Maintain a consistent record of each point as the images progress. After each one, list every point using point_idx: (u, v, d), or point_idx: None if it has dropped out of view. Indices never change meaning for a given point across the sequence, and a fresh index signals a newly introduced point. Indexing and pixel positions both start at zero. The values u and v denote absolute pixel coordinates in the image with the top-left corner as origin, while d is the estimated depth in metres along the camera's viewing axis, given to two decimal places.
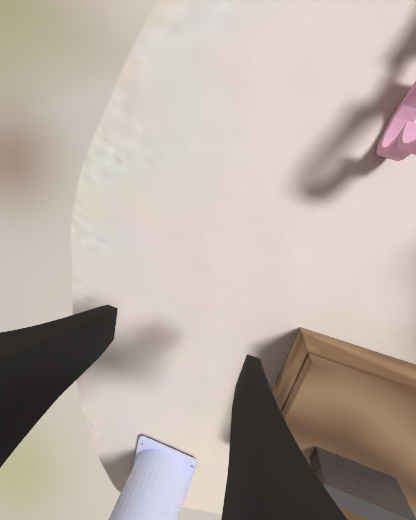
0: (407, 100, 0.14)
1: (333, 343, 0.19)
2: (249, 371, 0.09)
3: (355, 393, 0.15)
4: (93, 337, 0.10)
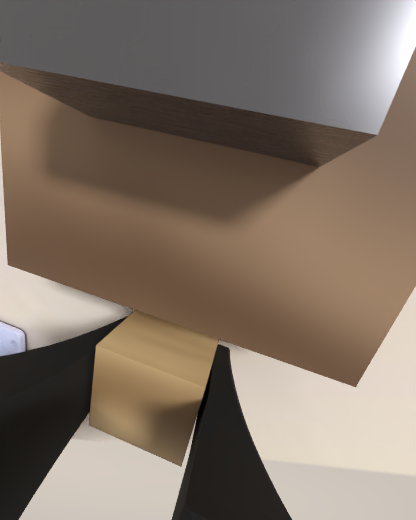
0: None
1: None
2: (214, 358, 0.09)
3: None
4: None
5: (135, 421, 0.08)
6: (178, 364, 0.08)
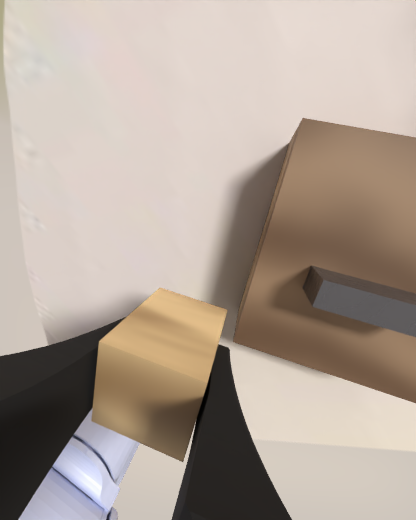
0: None
1: None
2: (214, 358, 0.09)
3: (365, 157, 0.11)
4: None
5: (137, 416, 0.08)
6: (180, 360, 0.08)
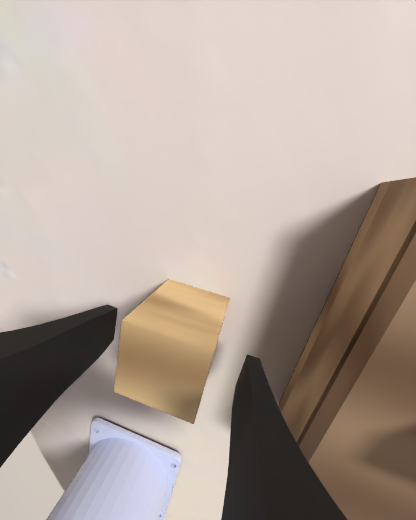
0: None
1: None
2: (249, 371, 0.09)
3: None
4: (93, 337, 0.10)
5: (154, 385, 0.09)
6: (190, 335, 0.09)
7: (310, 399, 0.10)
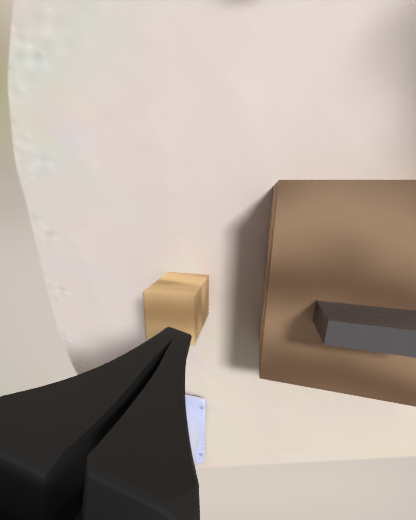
0: None
1: None
2: (171, 342, 0.09)
3: (341, 203, 0.12)
4: None
5: (168, 326, 0.16)
6: (181, 292, 0.16)
7: None
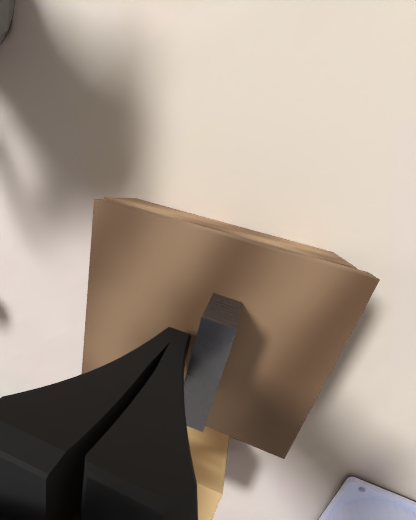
0: None
1: None
2: (170, 342, 0.09)
3: (101, 339, 0.14)
4: None
5: None
6: None
7: None
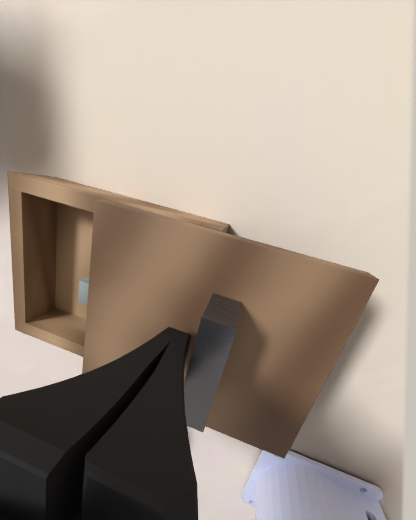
0: None
1: None
2: (170, 342, 0.09)
3: (101, 339, 0.14)
4: None
5: None
6: None
7: None
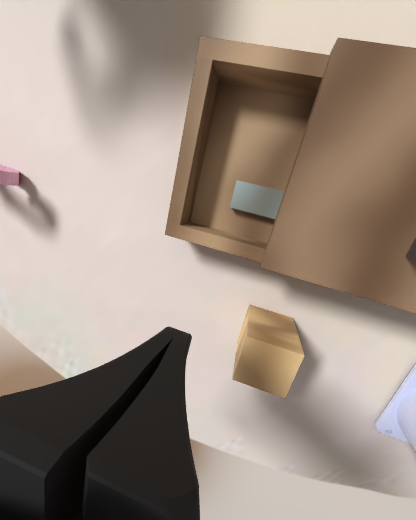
0: None
1: None
2: (171, 342, 0.09)
3: (299, 219, 0.13)
4: None
5: (275, 372, 0.15)
6: (243, 344, 0.16)
7: None
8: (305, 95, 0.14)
